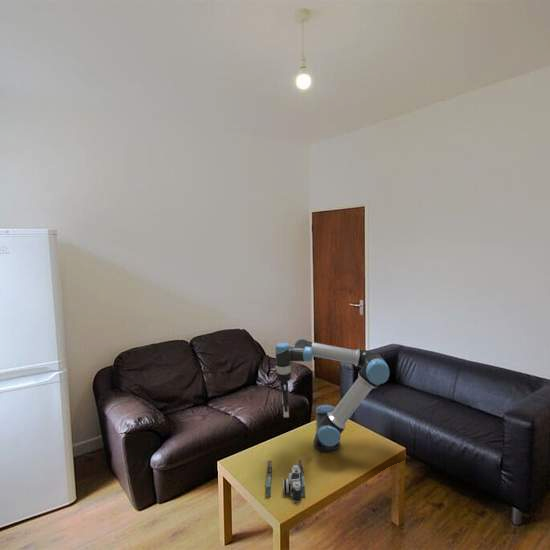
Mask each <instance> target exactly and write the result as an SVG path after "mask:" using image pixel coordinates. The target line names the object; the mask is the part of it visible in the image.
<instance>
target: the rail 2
mask: <svg viewBox="0 0 550 550" xmlns="http://www.w3.org/2000/svg"><path fill="white" fill-rule="evenodd" d="M303 461H304V460H303V459H298V467H299V468H300V472H301V473H300V474H301V477H302V481H301V482H300V485H301V497H306V483H305V474H304V462H303Z"/></svg>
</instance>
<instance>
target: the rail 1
mask: <svg viewBox="0 0 550 550" xmlns="http://www.w3.org/2000/svg"><path fill="white" fill-rule="evenodd" d="M272 463H273V461H272V460H271V459H270V460H267V466H266V467H267V468H266V480H265V481H266V484H265V494H266V498H271V497H272V479H273V478H272V477H273V475H272V474H273V465H272Z"/></svg>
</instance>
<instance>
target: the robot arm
mask: <svg viewBox="0 0 550 550" xmlns="http://www.w3.org/2000/svg"><path fill="white" fill-rule="evenodd" d="M274 349H275V352H274V353H275V354H274V355H275V365H276V366H274V369H275V370H276V380H277V381H278V382H279V384H280V388H281V389H280V390H281V406H282V407H283V408H282V409H283V411H282V413H283V418H289V417H290V408H289V406H290V405H289V394H288V392H289V382H290V381H291V379H292V373H291V369H292V368H291V363H293V362H311V361H313V360H314V359H313V357H316V358H322V359H327V360H333V361H338V362H343V363H348V364H352V365H354V367H358V368H361V369H360V370H359V371H358V373H357V374H358V377H357V379H356V380H355V381H354V382H353V384H352V386H350V388H349V390H348V391H347V392H346V393H345V394H344V396H343V397H342V398H341V400H340V401H339V402H338V404H337V405H336V406H333V405H330V404H322V405H319V406H317V407H316V408H315V426H316V427H315V429H316V433H315V435H314V438H313V448H314V449H315V450H316V451H317V452H318V451H319V452H320V453H325V454H331V453H335V452H337V451H339V450H340V449H341V442H340V441H341V436H342V435H341V434H342V433H343V432H344V430H345V429H346V427H347V426H346V423H347V422H348V420H349V419H350V417H351V416H352V415H353V414H354V412H355V411H356V410H357V408H359V406H360V405H361V404H362V402H363V401H364V400H365V398H366V397H367V396H368V395H369V393H370V391H372V389H377V388H378V387H379V386H380V385H382V384H385V383H386V382H387V381H388V380H389V378H390V368H389V365H388V364H387V362H386V360H384V358H383V357H382V356H381V354H379V353H378V352H375V351H372V350H368V349H366V350H365V349H360V348H357V349H351V348H350V349H349V348H345V347H339V346H335V345H329V344H324V343H320V342H313V341H309V340H306V339H305V338H302V337H301V338H298V339H297V340H296V341H295V343H294V346H290V344H289V343H288V342H278V343H277V344H276V345H275V348H274Z"/></svg>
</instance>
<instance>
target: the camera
mask: <svg viewBox="0 0 550 550" xmlns="http://www.w3.org/2000/svg"><path fill="white" fill-rule="evenodd" d="M300 473H301V472H300V468H299V465H297V464H294V465H292V467H291V472H289V473H288V478H283V479H282V480H283V481H282V483H283V485H282V486H283V493H284V494H290V497H292V498H293V502H294V503H300V502H301V501H302V496H301V485H300V482H301V481H302V477H301V474H300Z"/></svg>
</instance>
